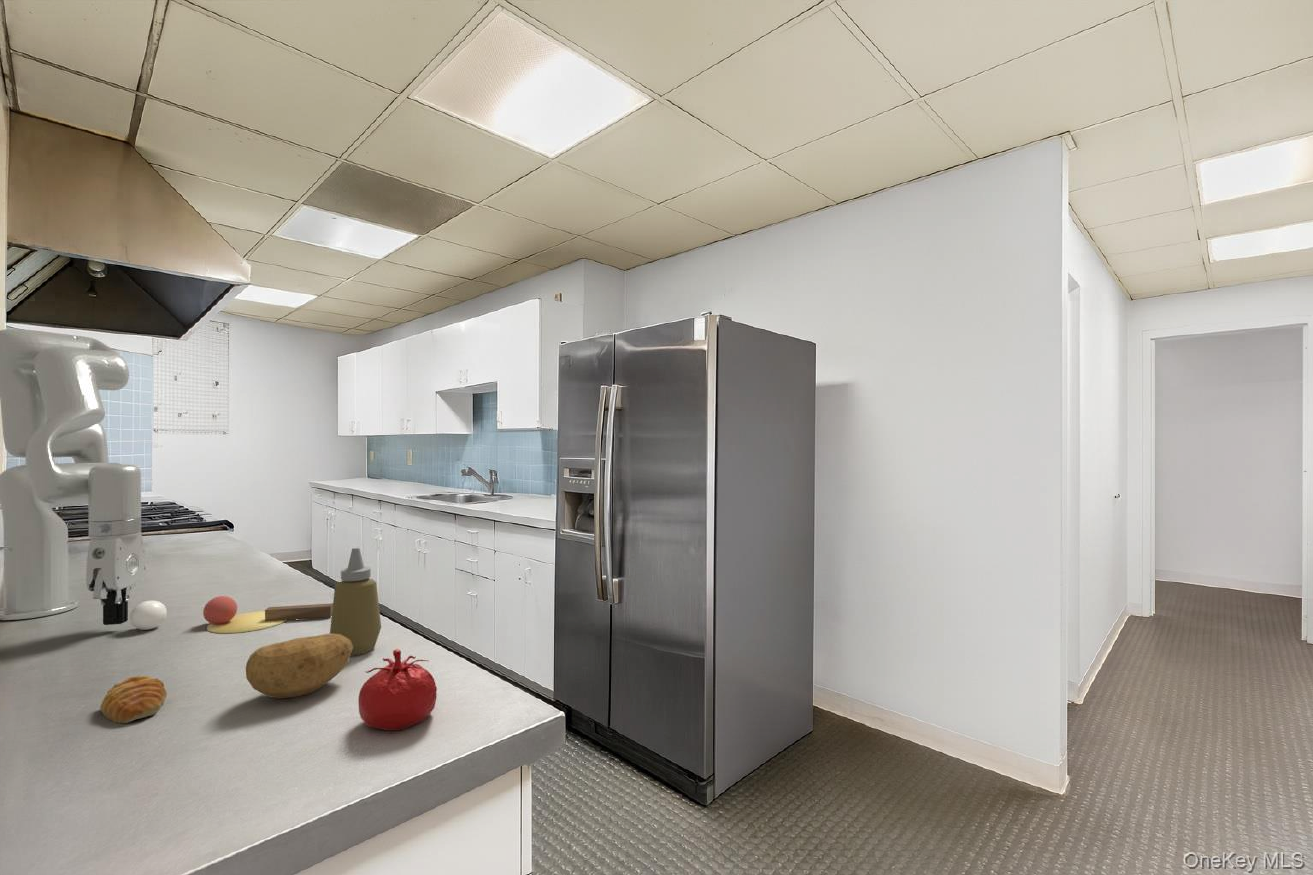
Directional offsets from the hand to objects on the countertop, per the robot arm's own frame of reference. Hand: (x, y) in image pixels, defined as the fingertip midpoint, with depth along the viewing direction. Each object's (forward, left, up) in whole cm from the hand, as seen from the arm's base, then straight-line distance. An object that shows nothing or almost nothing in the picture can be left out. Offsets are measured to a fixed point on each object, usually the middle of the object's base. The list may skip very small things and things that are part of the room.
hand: (115, 622), depth 115 cm
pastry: (+45, -11, -2) cm, 46 cm away
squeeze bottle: (+50, +18, -2) cm, 53 cm away
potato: (+59, +4, -2) cm, 59 cm away
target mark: (+16, +16, -2) cm, 23 cm away
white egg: (+4, +4, +1) cm, 6 cm away
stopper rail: (+23, +23, -2) cm, 32 cm away
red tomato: (+79, +6, -2) cm, 79 cm away
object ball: (+12, +13, +1) cm, 18 cm away
